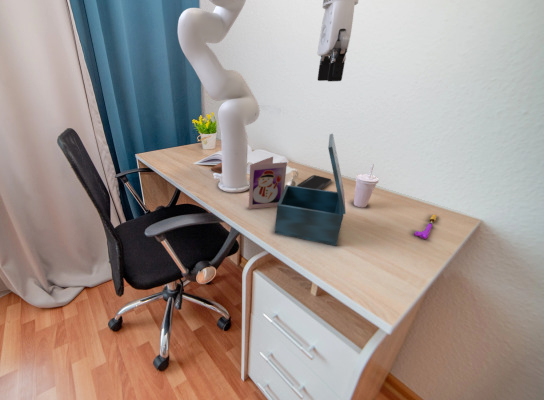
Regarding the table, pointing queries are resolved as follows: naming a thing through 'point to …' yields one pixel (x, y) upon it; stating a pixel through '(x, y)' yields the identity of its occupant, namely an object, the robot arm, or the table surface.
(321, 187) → the phone
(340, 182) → the lid
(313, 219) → the keepsake box
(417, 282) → the table surface
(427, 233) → the purple bent handle tool
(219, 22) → the robot arm
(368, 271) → the table surface
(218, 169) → the sunglasses case
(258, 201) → the greeting card
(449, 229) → the table surface
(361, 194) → the smoothie
